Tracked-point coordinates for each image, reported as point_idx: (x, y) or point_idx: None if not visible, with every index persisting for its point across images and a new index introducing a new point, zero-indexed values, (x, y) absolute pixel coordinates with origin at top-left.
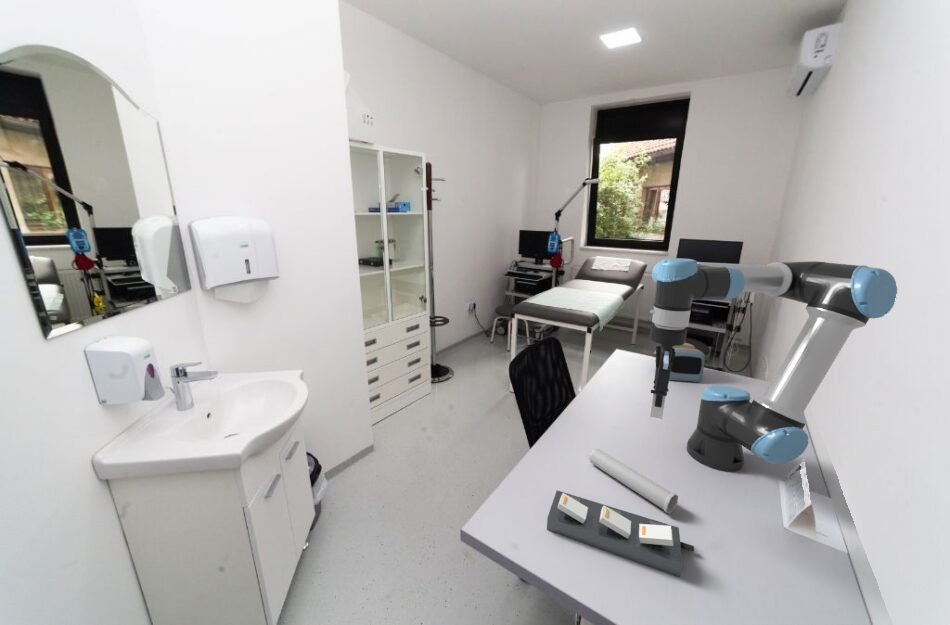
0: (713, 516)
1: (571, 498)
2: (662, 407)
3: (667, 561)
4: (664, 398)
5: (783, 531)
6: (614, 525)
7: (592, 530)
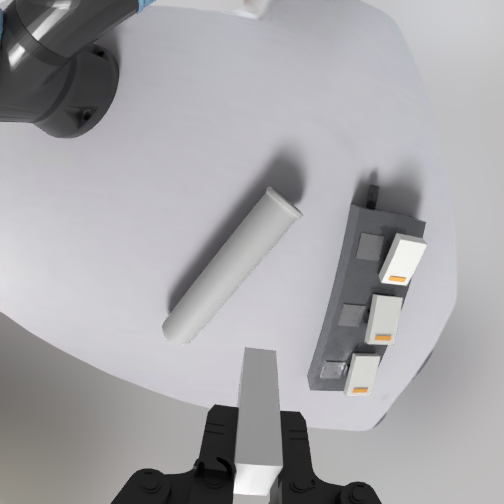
0: (269, 119)
1: (351, 382)
2: (278, 399)
3: None
4: (279, 444)
5: (269, 23)
6: (397, 323)
7: None
